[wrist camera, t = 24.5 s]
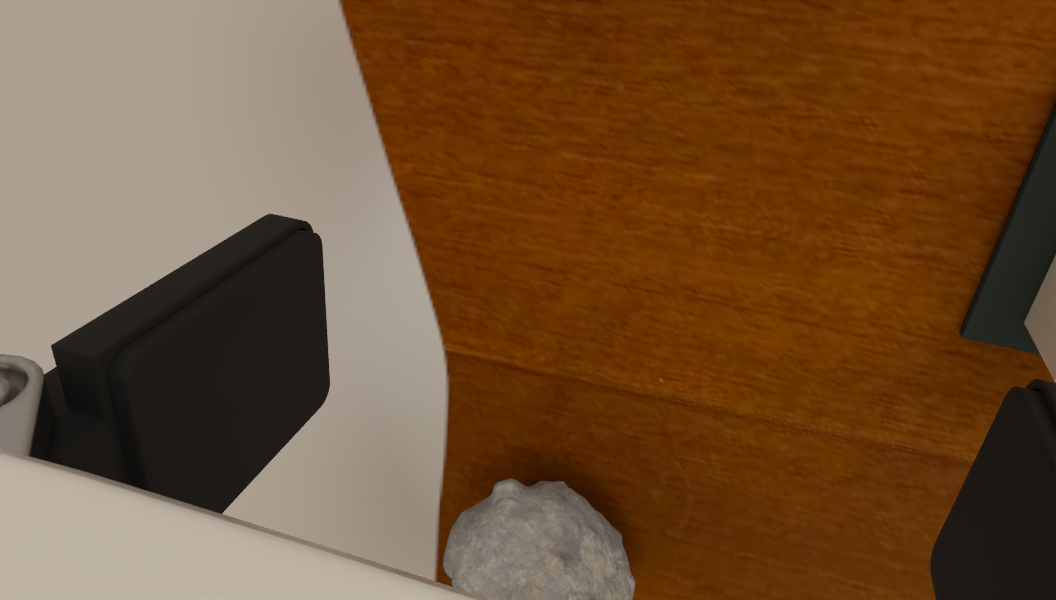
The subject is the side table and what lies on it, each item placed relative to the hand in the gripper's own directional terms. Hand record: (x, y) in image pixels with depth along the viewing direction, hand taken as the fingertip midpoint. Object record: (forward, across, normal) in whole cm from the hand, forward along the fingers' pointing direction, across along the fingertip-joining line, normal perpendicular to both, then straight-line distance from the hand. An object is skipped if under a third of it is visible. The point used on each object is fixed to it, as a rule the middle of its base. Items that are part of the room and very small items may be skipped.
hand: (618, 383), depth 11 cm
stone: (+22, +4, +24) cm, 33 cm away
